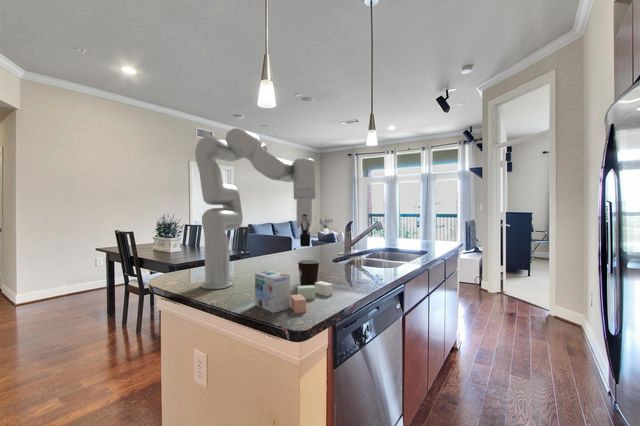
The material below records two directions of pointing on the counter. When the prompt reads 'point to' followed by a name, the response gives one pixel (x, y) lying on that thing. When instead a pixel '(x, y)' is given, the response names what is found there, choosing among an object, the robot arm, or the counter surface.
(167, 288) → the counter surface
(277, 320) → the counter surface
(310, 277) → the coffee mug
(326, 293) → the brick cream
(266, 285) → the light bulb box
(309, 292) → the brick sage
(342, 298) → the counter surface
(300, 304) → the brick terracotta
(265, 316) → the counter surface
